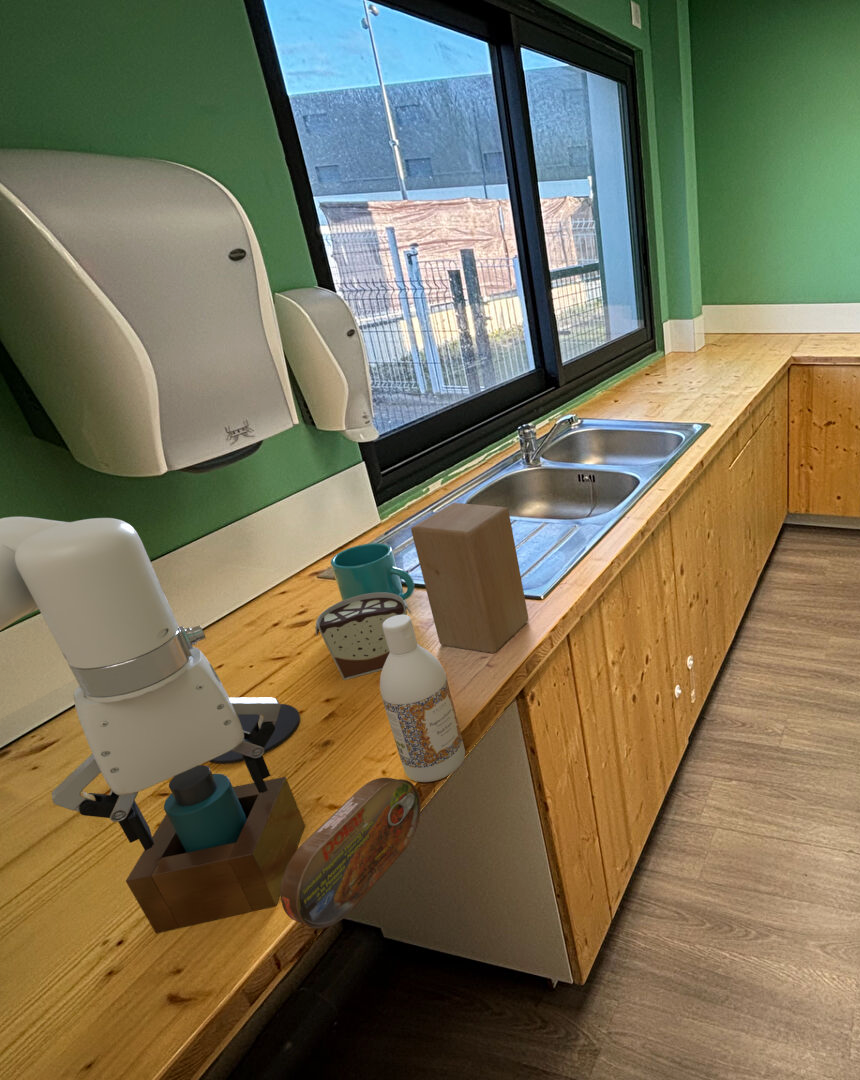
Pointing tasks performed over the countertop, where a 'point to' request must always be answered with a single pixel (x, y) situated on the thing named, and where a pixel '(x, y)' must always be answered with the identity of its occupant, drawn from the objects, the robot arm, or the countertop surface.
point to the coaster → (283, 731)
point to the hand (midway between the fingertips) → (206, 811)
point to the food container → (359, 631)
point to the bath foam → (419, 705)
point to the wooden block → (471, 575)
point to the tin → (350, 852)
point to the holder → (220, 864)
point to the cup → (369, 572)
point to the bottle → (204, 809)
